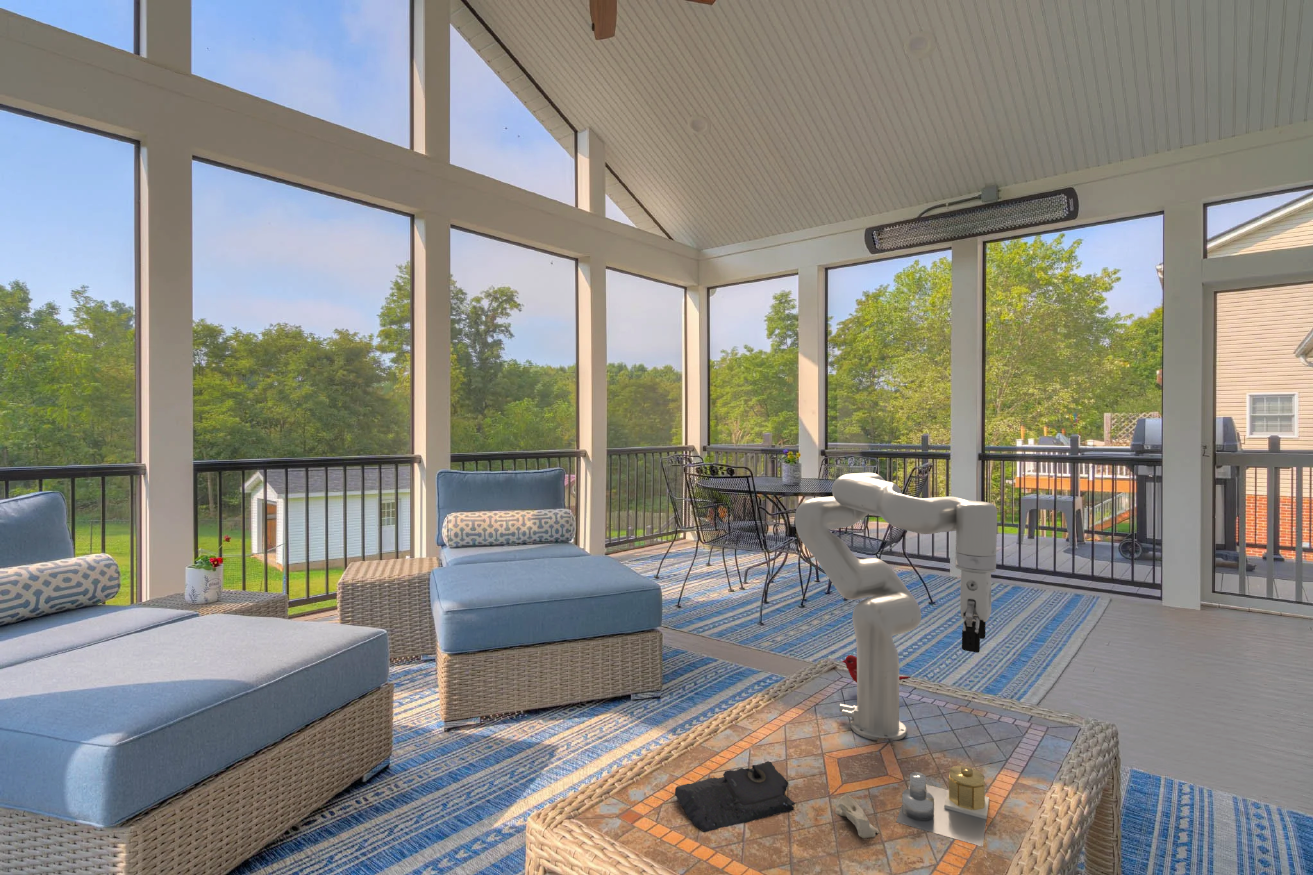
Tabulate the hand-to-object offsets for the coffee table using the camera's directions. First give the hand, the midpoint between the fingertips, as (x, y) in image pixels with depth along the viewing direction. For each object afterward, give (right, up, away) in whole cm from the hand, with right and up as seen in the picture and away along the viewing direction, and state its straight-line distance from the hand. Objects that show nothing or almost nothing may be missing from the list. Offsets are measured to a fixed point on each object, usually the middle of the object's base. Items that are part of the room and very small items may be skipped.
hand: (973, 644), depth 134 cm
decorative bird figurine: (-6, -27, +42) cm, 50 cm away
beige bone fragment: (-30, -28, -17) cm, 44 cm away
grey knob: (-17, -26, -15) cm, 35 cm away
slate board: (-12, -27, -14) cm, 33 cm away
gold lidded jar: (-7, -26, -12) cm, 29 cm away
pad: (-7, -26, -12) cm, 30 cm away
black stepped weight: (-51, -28, -8) cm, 59 cm away
